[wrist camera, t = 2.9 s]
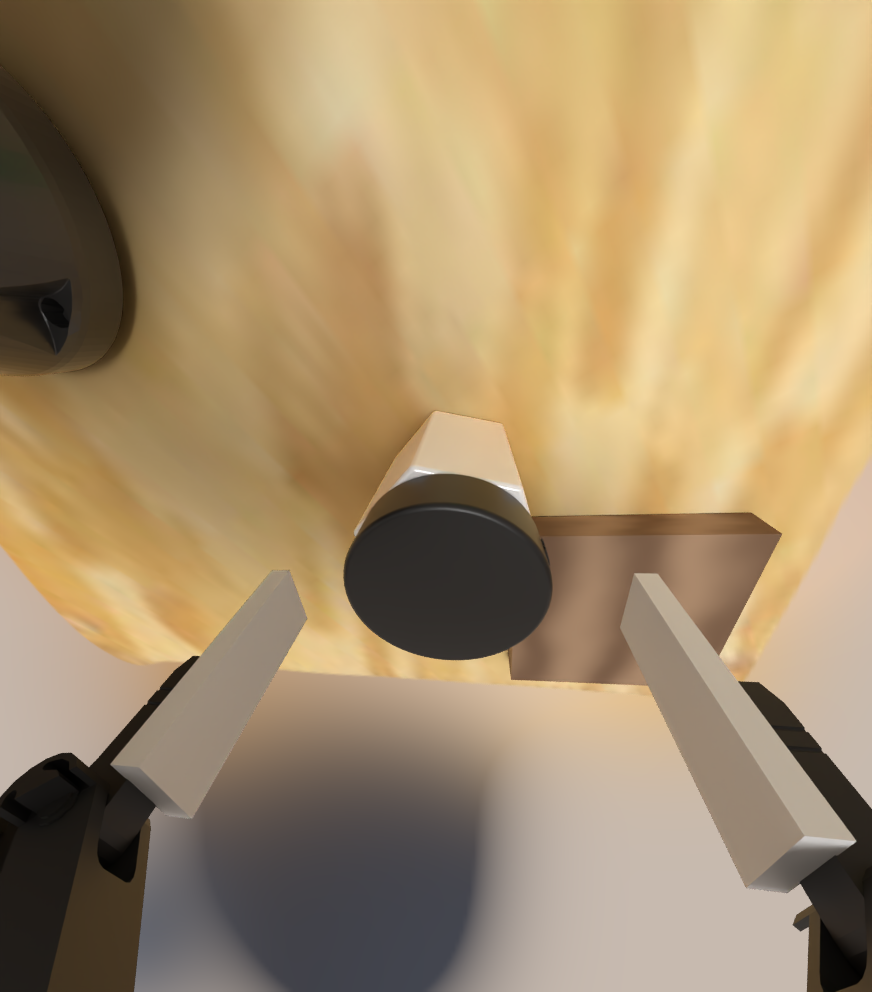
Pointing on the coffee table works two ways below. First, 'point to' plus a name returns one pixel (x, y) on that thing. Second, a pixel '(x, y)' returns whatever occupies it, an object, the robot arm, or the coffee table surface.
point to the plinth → (608, 577)
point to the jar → (450, 546)
